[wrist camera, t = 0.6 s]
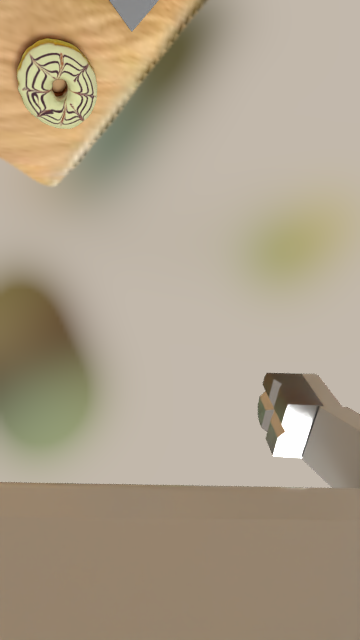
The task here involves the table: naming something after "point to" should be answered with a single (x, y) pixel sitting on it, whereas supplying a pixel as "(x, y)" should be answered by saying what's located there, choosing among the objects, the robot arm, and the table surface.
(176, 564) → the robot arm
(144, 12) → the mat
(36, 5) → the table surface
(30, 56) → the decorated donut
